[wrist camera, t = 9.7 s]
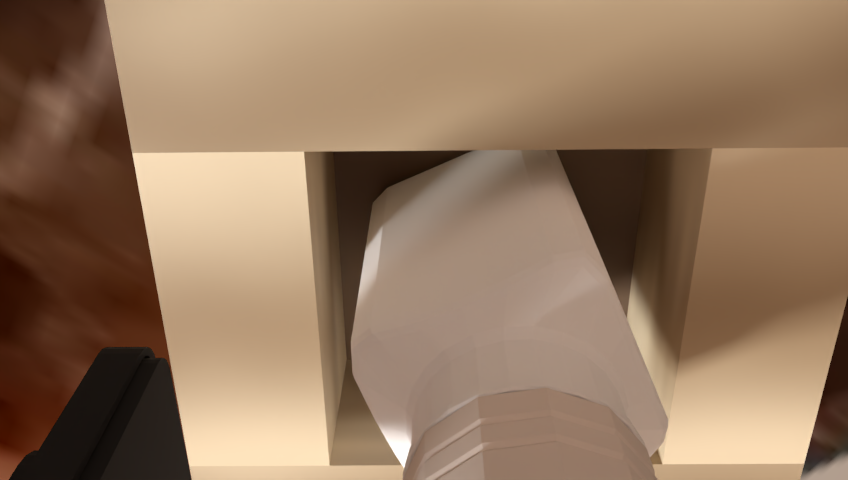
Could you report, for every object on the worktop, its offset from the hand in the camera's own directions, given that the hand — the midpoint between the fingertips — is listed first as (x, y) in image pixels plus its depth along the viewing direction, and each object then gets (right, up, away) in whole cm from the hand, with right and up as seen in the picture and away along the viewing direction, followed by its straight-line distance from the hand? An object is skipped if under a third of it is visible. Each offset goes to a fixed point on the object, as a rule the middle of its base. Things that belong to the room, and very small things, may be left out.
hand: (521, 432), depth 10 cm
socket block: (0, +3, +8) cm, 8 cm away
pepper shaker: (0, +3, +7) cm, 8 cm away
